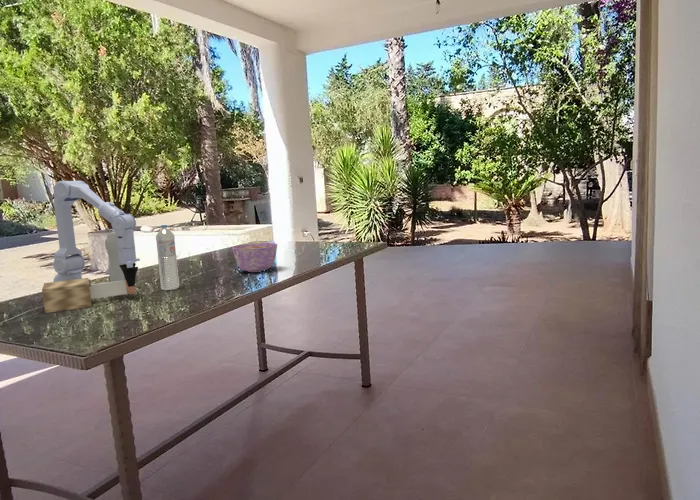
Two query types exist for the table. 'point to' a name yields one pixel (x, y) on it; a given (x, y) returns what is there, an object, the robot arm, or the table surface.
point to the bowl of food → (255, 256)
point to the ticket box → (66, 295)
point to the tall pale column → (113, 258)
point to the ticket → (110, 289)
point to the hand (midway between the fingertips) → (130, 284)
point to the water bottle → (167, 259)
